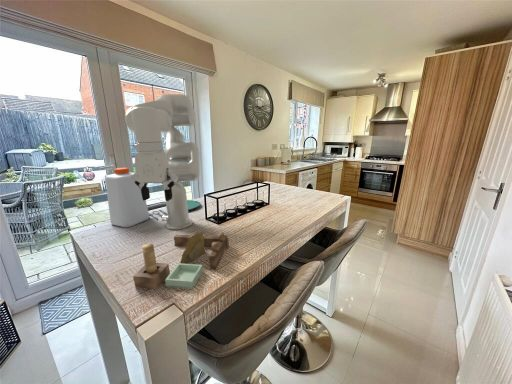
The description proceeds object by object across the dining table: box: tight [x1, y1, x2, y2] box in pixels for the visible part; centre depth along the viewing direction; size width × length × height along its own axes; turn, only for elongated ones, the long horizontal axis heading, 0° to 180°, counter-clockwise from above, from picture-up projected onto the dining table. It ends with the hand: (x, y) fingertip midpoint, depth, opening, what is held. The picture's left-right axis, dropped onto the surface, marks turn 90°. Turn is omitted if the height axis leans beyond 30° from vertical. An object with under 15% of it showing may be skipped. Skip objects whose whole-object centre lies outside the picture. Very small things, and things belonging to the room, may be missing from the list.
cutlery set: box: [149, 199, 202, 221], centre depth 127 cm, size 20×30×2 cm, turn 135°
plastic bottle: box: [104, 167, 150, 228], centre depth 108 cm, size 15×15×28 cm
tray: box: [164, 262, 204, 290], centre depth 65 cm, size 8×8×2 cm
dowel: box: [141, 243, 157, 274], centre depth 64 cm, size 3×3×12 cm
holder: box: [133, 262, 171, 291], centre depth 65 cm, size 7×7×4 cm
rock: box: [179, 231, 206, 264], centre depth 76 cm, size 11×9×10 cm
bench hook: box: [173, 232, 230, 271], centre depth 78 cm, size 22×16×7 cm
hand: (157, 199), depth 73 cm, fingers open, 7 cm apart
